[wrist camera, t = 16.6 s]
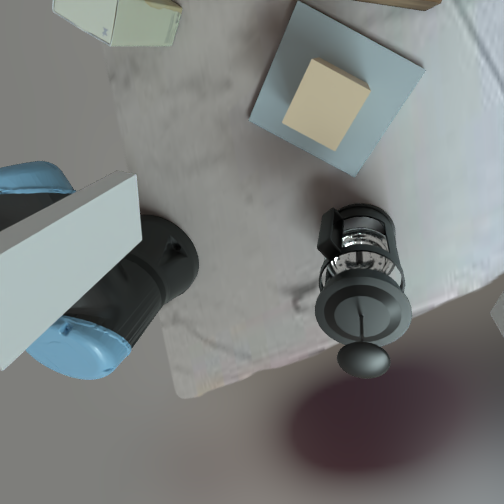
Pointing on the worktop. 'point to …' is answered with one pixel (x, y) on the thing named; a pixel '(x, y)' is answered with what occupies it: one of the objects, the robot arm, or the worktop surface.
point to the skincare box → (123, 20)
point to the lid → (332, 90)
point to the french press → (361, 290)
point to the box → (407, 3)
